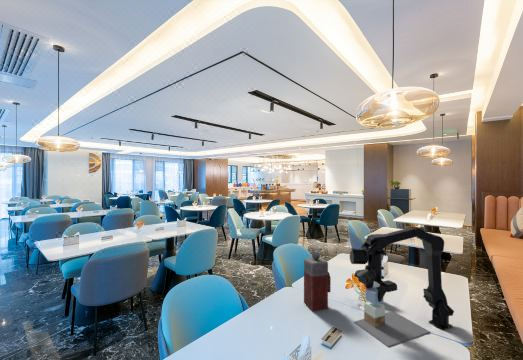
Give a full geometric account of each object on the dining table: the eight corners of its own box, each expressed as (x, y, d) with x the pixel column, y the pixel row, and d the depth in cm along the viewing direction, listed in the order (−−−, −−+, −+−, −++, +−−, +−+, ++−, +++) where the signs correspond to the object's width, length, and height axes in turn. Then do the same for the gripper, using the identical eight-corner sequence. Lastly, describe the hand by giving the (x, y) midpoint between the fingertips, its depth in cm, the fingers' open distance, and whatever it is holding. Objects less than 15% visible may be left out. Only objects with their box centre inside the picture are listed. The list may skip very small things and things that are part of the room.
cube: (374, 297, 116) (374, 287, 116) (383, 302, 111) (383, 291, 111) (366, 299, 114) (366, 288, 114) (374, 305, 109) (374, 293, 109)
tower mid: (374, 308, 116) (374, 300, 116) (385, 315, 111) (385, 306, 111) (364, 311, 114) (364, 302, 114) (374, 318, 109) (374, 308, 109)
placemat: (392, 311, 122) (392, 310, 122) (429, 332, 106) (429, 331, 106) (353, 322, 113) (353, 321, 113) (388, 347, 97) (388, 346, 97)
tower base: (374, 317, 116) (374, 308, 116) (385, 324, 111) (385, 315, 111) (364, 320, 114) (364, 311, 114) (374, 327, 109) (374, 318, 109)
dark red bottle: (332, 308, 126) (332, 251, 126) (311, 311, 122) (312, 253, 122) (322, 300, 134) (323, 247, 134) (303, 302, 131) (303, 248, 131)
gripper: (345, 260, 118) (345, 293, 118) (378, 273, 101) (378, 313, 101) (364, 257, 122) (364, 289, 122) (398, 270, 105) (398, 307, 105)
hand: (374, 299), depth 112 cm, fingers closed on cube, 5 cm apart
